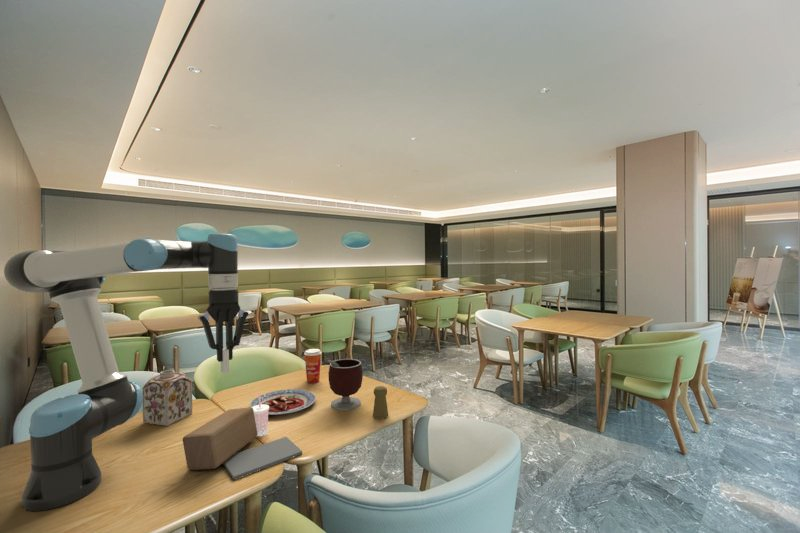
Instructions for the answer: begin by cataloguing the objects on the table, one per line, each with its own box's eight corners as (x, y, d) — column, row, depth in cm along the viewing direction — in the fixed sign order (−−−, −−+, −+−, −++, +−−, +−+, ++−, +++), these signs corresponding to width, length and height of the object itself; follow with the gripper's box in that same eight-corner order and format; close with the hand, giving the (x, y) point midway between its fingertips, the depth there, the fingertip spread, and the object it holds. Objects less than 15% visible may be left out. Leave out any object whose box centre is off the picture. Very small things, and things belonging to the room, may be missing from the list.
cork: (391, 415, 140) (391, 386, 140) (380, 420, 136) (380, 391, 135) (380, 410, 144) (380, 383, 144) (369, 415, 140) (369, 387, 140)
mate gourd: (350, 395, 161) (350, 350, 160) (369, 404, 150) (369, 356, 150) (319, 404, 150) (318, 356, 150) (337, 415, 140) (336, 363, 140)
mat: (233, 480, 100) (233, 476, 100) (221, 461, 109) (221, 458, 109) (302, 454, 113) (302, 451, 113) (286, 439, 122) (286, 436, 122)
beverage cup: (270, 428, 130) (270, 389, 129) (268, 436, 124) (267, 395, 123) (252, 430, 128) (251, 390, 128) (249, 438, 122) (248, 397, 122)
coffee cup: (301, 383, 176) (301, 352, 176) (308, 377, 184) (308, 348, 184) (318, 384, 175) (317, 353, 174) (324, 378, 183) (324, 348, 183)
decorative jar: (141, 423, 134) (140, 374, 134) (169, 410, 146) (168, 365, 145) (167, 427, 131) (166, 377, 131) (193, 413, 142) (192, 368, 142)
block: (209, 434, 102) (254, 405, 121) (180, 437, 104) (228, 408, 124) (215, 470, 102) (259, 435, 121) (186, 471, 104) (233, 438, 123)
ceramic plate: (279, 425, 132) (278, 417, 132) (236, 410, 146) (236, 402, 146) (328, 401, 154) (328, 394, 154) (287, 390, 168) (287, 383, 168)
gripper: (200, 291, 96) (202, 380, 96) (251, 288, 104) (253, 370, 105) (194, 289, 102) (196, 373, 102) (243, 286, 110) (244, 364, 111)
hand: (225, 371), depth 104 cm, fingers closed
